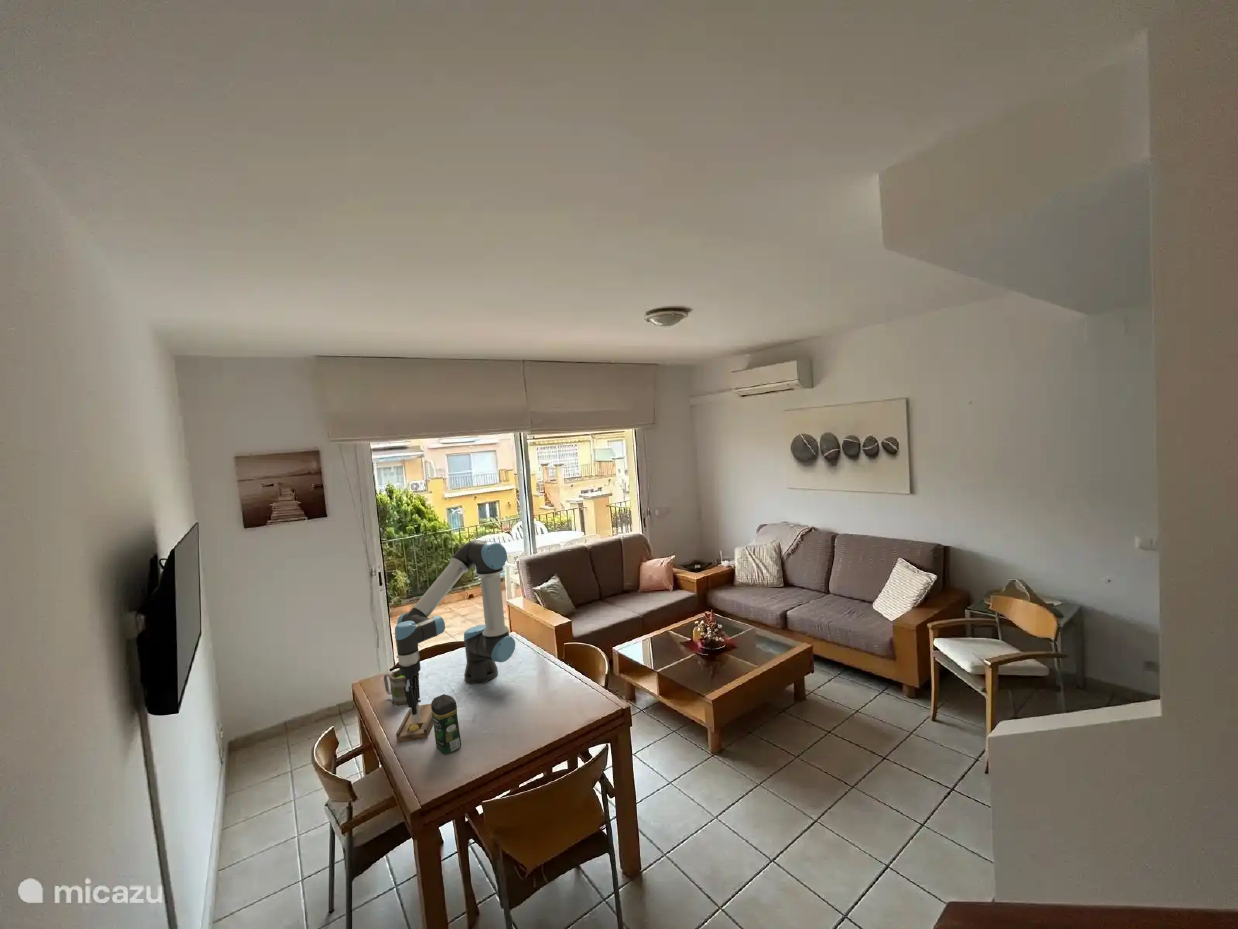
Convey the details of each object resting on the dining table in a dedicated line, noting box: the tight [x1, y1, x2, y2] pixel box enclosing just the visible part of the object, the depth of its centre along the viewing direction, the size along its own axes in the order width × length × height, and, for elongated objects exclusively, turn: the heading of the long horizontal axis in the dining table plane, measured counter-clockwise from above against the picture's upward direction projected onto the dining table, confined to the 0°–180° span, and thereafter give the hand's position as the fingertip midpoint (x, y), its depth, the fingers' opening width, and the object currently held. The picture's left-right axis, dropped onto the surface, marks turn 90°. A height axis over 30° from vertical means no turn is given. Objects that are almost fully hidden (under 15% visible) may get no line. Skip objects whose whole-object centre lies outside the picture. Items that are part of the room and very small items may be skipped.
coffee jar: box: [430, 693, 462, 755], centre depth 190 cm, size 10×8×19 cm
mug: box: [383, 669, 408, 707], centre depth 230 cm, size 16×11×12 cm
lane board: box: [395, 703, 434, 744], centre depth 208 cm, size 11×22×4 cm, turn 7°
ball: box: [409, 724, 420, 731], centre depth 201 cm, size 4×4×4 cm
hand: (416, 720), depth 204 cm, fingers closed
